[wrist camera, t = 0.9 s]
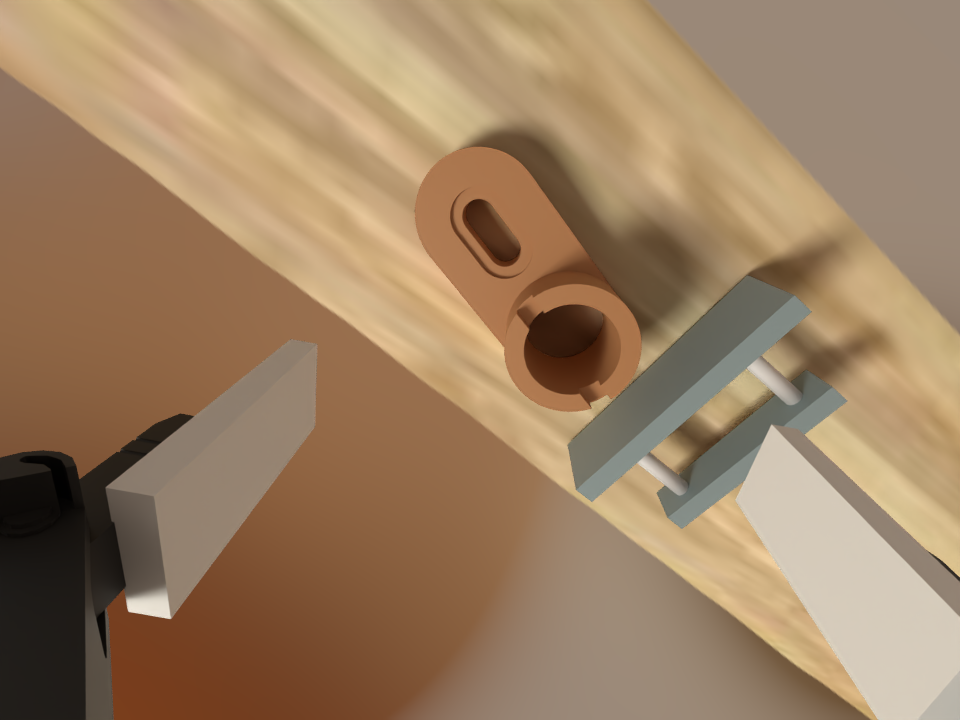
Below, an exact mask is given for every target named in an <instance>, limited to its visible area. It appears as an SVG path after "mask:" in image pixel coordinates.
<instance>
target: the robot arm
mask: <svg viewBox="0 0 960 720" xmlns="http://www.w3.org/2000/svg"><path fill="white" fill-rule="evenodd" d="M316 368H317V344H314V343H309V342H303V341H298V340H291V339H290V340H289V341H288V342H287V343H285V344H284V345H283V346H282V347H280V348H279V349H278V350H277V351H275V352H274V353H273V354H272V355H271V356H269V357H268V358H267V359H265V360H264V361H263V362H262V363H260V364H259V365H258V366H257V367H255V368H254V369H253V370H252V371H250V372H249V373H248V374H247V375H246V376H244V377H243V378H242V379H240V380H239V381H238V382H237V383H236V384H234V385H233V386H232V387H230V388H229V389H228V390H227V391H226V392H224V393H223V394H222V395H221V396H219V397H218V398H217V399H216V400H214V401H213V402H212V403H210V404H209V405H208V406H207V407H206V408H204V409H203V410H202V411H201V412H199V413H198V414H197V415H196V416H191V415H185V414H178V415H176V416H173V417H171V418H168V419H166V420H163V421H161V422H158V423H156V424H154V425H153V426H152V427H150V428H149V429H148V430H146V431H145V432H143V433H142V434H141V435H139V436H138V437H137V438H136V440H135V441H134V440H132V441H131V442H130V443H128V444H127V445H126V446H124V447H123V448H122V449H121V451H120V452H116V453H115V454H113V455H112V456H111V457H109V458H108V459H107V460H105V461H104V462H103V463H101V464H100V465H98V466H97V467H96V468H94V469H93V470H92V471H90V472H89V473H87V474H86V475H85V476H83V477H82V478H81V479H79V477H78V472H77V468H76V464H75V463H74V460H73V458H72V457H70V456H68V455H66V454H63V453H61V452H54V451H44V450H43V451H32V452H22V453H18V454H13V455H10V456H5V457H2V458H0V720H113V699H112V678H111V659H110V658H111V657H110V637H109V619H108V614H107V609H106V608H107V606H108V605H109V604H110V603H111V602H112V601H113V600H114V599H115V598H116V596H117V595H118V594H119V593H120V592H121V591H122V590H123V589H124V590H125V595H126V601H127V607H128V611H129V612H134V613H140V614H146V615H151V616H157V617H163V618H169V619H171V618H172V617H173V615H174V614H175V613H176V611H177V610H178V609H179V607H180V606H181V605H182V603H183V602H184V601H185V599H186V598H187V597H188V595H189V594H190V593H191V591H192V590H193V589H194V587H195V586H196V585H197V583H198V582H199V581H200V579H201V578H202V577H203V575H204V574H205V573H206V571H207V570H208V569H209V567H210V566H211V565H212V563H213V562H214V561H215V559H216V558H217V557H218V555H219V554H220V553H221V551H222V550H223V549H224V547H225V546H226V545H227V543H228V542H229V541H230V539H231V538H232V537H233V535H234V534H235V533H236V531H237V530H238V529H239V527H240V526H241V525H242V523H243V522H244V520H245V519H246V518H247V517H248V515H249V514H250V513H251V511H252V510H253V508H254V507H255V506H256V505H257V503H258V502H259V501H260V499H261V498H262V497H263V495H264V494H265V492H266V491H267V490H268V489H269V487H270V486H271V484H272V483H273V482H274V481H275V479H276V478H277V476H278V475H279V473H280V472H281V471H282V470H283V468H284V467H285V466H286V464H287V463H288V462H289V460H290V459H291V458H292V456H293V455H294V454H295V452H296V451H297V450H298V448H299V447H300V446H301V444H302V443H303V442H304V440H305V439H306V438H307V436H308V435H309V434H310V432H311V431H312V429H313V428H314V427H315V405H316V371H317V370H316ZM735 501H736V502H737V504H738V505H739V507H740V508H741V510H742V512H743V513H744V515H745V516H746V518H747V519H748V521H749V522H750V524H751V525H752V527H753V528H754V530H755V531H756V533H757V535H758V536H759V538H760V539H761V541H762V542H763V544H764V545H765V547H766V548H767V550H768V551H769V553H770V555H771V556H772V558H773V559H774V561H775V562H776V564H777V565H778V567H779V568H780V570H781V571H782V573H783V574H784V576H785V578H786V579H787V581H788V582H789V584H790V585H791V587H792V588H793V590H794V591H795V593H796V594H797V596H798V597H799V599H800V601H801V602H802V604H803V605H804V607H805V608H806V610H807V611H808V613H809V614H810V616H811V617H812V619H813V621H814V622H815V624H816V625H817V627H818V628H819V630H820V631H821V633H822V634H823V636H824V637H825V639H826V640H827V642H828V644H829V645H830V647H831V648H832V650H833V651H834V653H835V654H836V656H837V657H838V659H839V660H840V662H841V663H842V665H843V667H844V668H845V670H846V671H847V673H848V674H849V676H850V677H851V679H852V680H853V682H854V683H855V685H856V687H857V688H858V690H859V691H860V693H861V694H862V696H863V697H864V699H865V700H866V702H867V703H868V705H869V706H870V708H871V710H872V711H873V713H874V714H875V716H876V717H877V719H878V720H960V577H959V576H958V575H957V574H955V573H954V572H953V571H952V570H951V569H950V568H949V567H948V566H947V565H946V564H945V563H944V562H943V561H941V560H940V559H939V558H937V557H936V556H934V555H933V554H931V553H930V552H928V551H927V550H926V549H924V548H923V547H922V546H921V545H920V544H919V543H918V542H917V541H916V540H915V539H914V538H913V537H912V536H911V535H910V534H909V533H908V532H906V531H905V530H904V529H903V528H902V527H901V526H900V525H899V524H898V523H897V522H896V521H895V520H894V519H893V518H892V517H891V516H890V515H888V514H887V513H886V512H885V511H884V510H883V509H882V508H881V507H880V506H879V505H878V504H877V503H876V502H875V501H874V500H873V499H872V498H870V497H869V496H868V495H867V494H866V493H865V492H864V491H863V490H862V489H861V488H860V487H859V486H858V485H857V484H856V483H855V482H854V481H853V480H851V479H850V478H849V477H848V476H847V475H846V474H845V473H844V472H843V471H842V470H841V469H840V468H839V467H838V466H837V465H836V464H835V463H833V462H832V461H831V460H830V459H829V458H828V457H827V456H826V455H825V454H824V453H823V452H822V451H821V450H820V449H819V448H818V447H817V446H815V445H814V444H813V443H812V442H811V441H810V440H809V439H808V438H807V437H806V436H805V435H804V434H803V433H802V432H801V431H800V430H799V429H795V428H790V427H784V426H778V425H773V424H771V426H770V429H769V431H768V433H767V435H766V437H765V439H764V441H763V443H762V445H761V448H760V450H759V452H758V454H757V456H756V458H755V460H754V462H753V465H752V467H751V469H750V471H749V473H748V475H747V477H746V479H745V481H744V484H743V486H742V488H741V490H740V492H739V494H738V496H737V498H736V500H735Z"/></svg>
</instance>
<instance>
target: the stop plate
mask: <svg viewBox="0 0 960 720" xmlns="http://www.w3.org/2000/svg"><path fill="white" fill-rule="evenodd" d="M811 312H812V311H810V310H809V309H808V308H807V307H806V306H805V305H804V304H803V303H802V302H801V301H800V300H799V299H798V298H797V297H796V296H795V295H793V294H790V293H788V292H786V291H783V290H781V289H779V288H776V287H774V286H772V285H769V284H767V283H765V282H762V281H760V280H758V279H755V278H753V277H751V276H748V275H747V276H746V277H745V278H744V279H743V280H742V281H741V282H740V283H739V284H737V285H736V286H735V287H734V288H733V289H732V290H731V291H730V292H729V293H728V294H727V295H726V296H725V297H724V298H723V299H722V300H720V301H719V302H718V303H717V304H716V305H715V306H714V307H713V308H712V309H711V310H710V311H709V312H708V313H707V314H706V315H705V316H704V317H702V318H701V319H700V320H699V321H698V322H697V323H696V324H695V325H694V326H693V327H692V328H691V329H690V330H689V331H688V332H687V333H685V334H684V335H683V336H682V337H681V338H680V339H679V340H678V341H677V342H676V343H675V344H674V345H673V346H672V347H671V348H670V349H669V350H667V351H666V352H665V353H664V354H663V355H662V356H661V357H660V358H659V359H658V360H657V361H656V362H655V363H654V364H653V365H652V366H650V367H649V368H648V369H647V370H646V371H645V372H644V373H643V374H642V375H641V376H640V377H639V378H638V379H637V380H636V381H635V382H633V383H632V384H631V385H630V386H629V387H628V388H627V389H626V390H625V391H624V392H623V393H622V394H621V395H620V396H619V397H618V398H617V399H615V400H614V401H613V402H612V403H611V404H610V405H609V406H608V407H607V408H606V409H605V410H604V411H603V412H602V413H601V414H600V415H598V416H597V417H596V418H595V419H594V420H593V421H592V422H591V423H590V424H589V425H588V426H587V427H586V428H585V429H584V430H583V431H582V432H580V433H579V434H578V435H577V436H576V437H575V438H574V439H573V440H572V441H571V442H570V443H569V444H568V449H569V454H570V460H571V465H572V471H573V476H574V481H575V487H576V490H577V491H578V492H580V493H581V494H582V495H583V496H585V497H586V498H587V499H589V500H590V501H591V502H592V501H594V500H595V499H596V498H597V497H598V496H599V495H600V494H602V493H603V492H604V491H605V490H606V489H607V488H609V487H610V486H611V485H612V484H613V483H614V482H615V481H617V480H618V479H619V478H620V477H621V476H622V475H624V474H625V473H626V472H627V471H628V470H629V469H631V468H632V467H633V466H634V465H635V464H636V463H638V464H639V465H640V466H642V467H643V468H644V469H645V470H647V471H648V472H649V473H650V474H652V475H653V476H654V477H655V478H657V479H658V480H659V481H660V482H662V483H663V484H664V485H665V486H664V487H663V488H662V489H660V490H659V491H658V492H657V495H658V497H659V499H660V501H661V504H662V506H663V508H664V511H665V513H666V515H667V517H668V518H669V519H670V520H671V521H672V522H674V523H675V524H676V525H678V526H679V527H680V528H681V529H682V528H684V527H685V526H686V525H688V524H689V523H690V522H691V521H693V520H694V519H695V518H697V517H698V516H699V515H701V514H702V513H703V512H704V511H706V510H707V509H708V508H710V507H711V506H712V505H714V504H715V503H716V502H717V501H719V500H720V499H721V498H723V497H724V496H725V495H726V494H728V493H729V492H730V491H732V490H733V489H734V488H736V487H737V486H738V485H739V484H741V483H742V482H743V481H745V479H746V477H747V475H748V473H749V471H750V469H751V467H752V465H753V462H754V460H755V458H756V456H757V454H758V452H759V450H760V448H761V445H762V443H763V441H764V439H765V437H766V435H767V433H768V431H769V429H770V426H771V424H773V425H778V426H784V427H790V428H795V429H799V430H800V431H801V432H802V433H803V434H806V433H807V432H808V431H809V430H811V429H812V428H813V427H815V426H816V425H817V424H818V423H820V422H821V421H822V420H824V419H825V418H826V417H828V416H829V415H830V414H831V413H833V412H834V411H835V410H837V409H838V408H839V407H840V406H842V405H843V404H844V403H846V402H847V400H846V399H845V398H844V397H843V396H842V395H841V394H839V393H838V392H837V391H836V390H835V389H834V388H833V387H832V386H830V385H829V384H827V383H826V382H824V381H823V380H821V379H820V378H818V377H817V376H815V375H814V374H812V373H811V372H809V371H808V370H805V371H804V372H803V373H801V374H800V375H799V376H798V377H797V378H795V379H794V380H793V381H792V382H789V381H788V380H787V379H786V378H785V377H784V376H783V375H782V374H781V373H780V372H778V371H777V370H776V369H775V368H774V367H773V366H772V365H771V364H770V363H769V362H767V361H766V360H765V359H764V358H763V357H762V356H761V355H762V354H763V353H765V352H766V351H767V350H768V349H769V348H770V347H772V346H773V345H774V344H775V343H776V342H777V341H778V340H780V339H781V338H782V337H783V336H784V335H785V334H787V333H788V332H789V331H790V330H791V329H792V328H793V327H795V326H796V325H797V324H798V323H799V322H800V321H802V320H803V319H804V318H805V317H806V316H807V315H809V314H810V313H811ZM746 368H747V369H748V370H749V371H750V372H751V373H752V374H753V375H754V376H756V377H757V378H758V379H759V380H760V381H761V382H762V383H763V384H765V385H766V386H767V387H768V388H769V389H770V390H771V391H772V392H773V393H775V394H776V395H775V396H773V397H772V398H771V399H770V400H769V401H767V402H766V403H765V404H764V405H762V406H761V407H760V408H759V409H758V410H756V411H755V412H754V413H753V414H752V415H750V416H749V417H748V418H747V419H745V420H744V421H743V422H742V423H741V424H739V425H738V426H737V427H736V428H735V429H733V430H732V431H731V432H730V433H728V434H727V435H726V436H725V437H724V438H722V439H721V440H720V441H719V442H718V443H716V444H715V445H714V446H713V447H711V448H710V449H709V450H708V451H707V452H705V453H704V454H703V455H702V456H700V457H699V458H698V459H697V460H696V461H694V462H693V463H692V464H691V465H690V466H688V467H687V468H686V469H685V470H683V471H682V472H681V473H680V474H679V475H677V474H676V473H675V472H674V471H672V470H671V469H670V468H669V467H667V466H666V465H665V464H664V463H662V462H661V461H660V460H659V459H657V458H656V457H655V456H654V455H653V454H651V453H650V451H651V450H652V449H654V448H655V447H656V446H657V445H658V444H659V443H661V442H662V441H663V440H664V439H665V438H666V437H667V436H669V435H670V434H671V433H672V432H673V431H674V430H676V429H677V428H678V427H679V426H680V425H681V424H683V423H684V422H685V421H686V420H687V419H688V418H689V417H691V416H692V415H693V414H694V413H695V412H696V411H698V410H699V409H700V408H701V407H702V406H703V405H704V404H706V403H707V402H708V401H709V400H710V399H711V398H713V397H714V396H715V395H716V394H717V393H718V392H720V391H721V390H722V389H723V388H724V387H725V386H726V385H728V384H729V383H730V382H731V381H732V380H733V379H735V378H736V377H737V376H738V375H739V374H740V373H741V372H743V371H744V370H745V369H746Z"/></svg>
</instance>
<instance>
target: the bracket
mask: <svg viewBox="0 0 960 720" xmlns="http://www.w3.org/2000/svg"><path fill="white" fill-rule="evenodd" d="M475 199H483V200H486V201H487V202H489V203H490V204H491V205H492V207H493V208H494V209H495V210H496V212H497V213H498V214H499V216H500V217H501V218H502V220H503V221H504V222H505V224H506V225H507V226H508V228H509V229H510V230H511V232H512V233H513V234H514V236H515V237H516V238H517V240H518V241H519V243H520V246H521V249H520V252H519V254H518V255H517V257H515V258H514V259H513V260H510V261H501V260H498V259H497V258H496V257H495V256H494V255H493V254H492V253H491V251H490V250H489V249H488V248H487V246H486V245H485V244H484V242H483V241H482V240H481V239H480V237H479V236H478V235H477V233H476V232H475V231H474V230H473V228H472V227H471V226H470V224H469V223H468V221H467V219H466V209H467V206H468V205H469V203H470V202H471V201H472V200H475ZM415 221H416V227H417V232H418V235H419V238H420V240H421V242H422V245H423V246H424V248H425V250H426V252H427V253H428V254H429V256H430V257H431V258H432V259H433V261H434V262H435V263H436V264H437V266H438V267H439V268H440V269H441V270H442V272H443V273H444V274H445V275H446V277H447V278H448V279H449V280H450V281H451V283H452V284H453V285H454V286H455V288H456V289H457V290H458V291H459V293H460V294H461V295H462V296H463V297H464V299H465V300H466V301H467V302H468V304H469V305H470V306H471V307H472V308H473V310H474V311H475V312H476V313H477V315H478V316H479V317H480V318H481V320H482V321H483V322H484V323H485V324H486V326H487V327H488V328H489V329H490V331H491V332H492V333H493V334H494V335H495V337H496V338H497V339H498V340H499V342H500V343H501V344H502V345H503V346H504V355H505V362H506V366H507V369H508V372H509V375H510V377H511V379H512V380H513V382H514V383H515V385H516V386H517V387H518V389H519V390H520V391H521V392H522V393H523V394H524V395H525V396H527V397H528V398H529V399H530V400H532V401H534V402H535V403H537V404H539V405H541V406H543V407H546V408H549V409H553V410H558V411H567V412H573V411H583V410H587V409H591V406H590V402H593V401H596V400H598V399H600V398H602V397H604V396H605V395H608V396H609V397H610V399H612V398H613V397H615V396H616V395H617V394H619V393H620V392H621V391H622V390H623V389H624V388H625V387H626V386H627V384H628V383H629V382H630V380H631V379H632V377H633V375H634V374H635V371H636V369H637V367H638V364H639V361H640V356H641V335H640V330H639V327H638V324H637V322H636V319H635V318H634V316H633V314H632V313H631V311H630V310H629V308H628V307H627V306H626V305H625V304H624V302H623V301H622V300H621V299H620V298H619V296H618V295H617V294H616V293H615V291H614V290H613V289H612V287H611V286H610V284H609V283H608V282H607V280H606V279H605V277H604V276H603V275H602V273H601V272H600V270H599V269H598V268H597V266H596V265H595V264H594V262H593V261H592V259H591V258H590V257H589V255H588V254H587V252H586V251H585V250H584V248H583V247H582V245H581V244H580V243H579V241H578V240H577V238H576V237H575V236H574V234H573V233H572V231H571V230H570V229H569V227H568V226H567V224H566V223H565V222H564V220H563V219H562V217H561V216H560V215H559V213H558V212H557V210H556V209H555V208H554V206H553V205H552V203H551V202H550V201H549V199H548V198H547V196H546V195H545V194H544V192H543V191H542V189H541V188H540V187H539V185H538V184H537V183H536V181H535V180H534V178H533V177H532V176H531V174H530V173H529V172H528V170H527V169H526V168H525V167H524V166H523V165H522V164H521V163H520V162H519V161H518V160H516V159H515V158H514V157H512V156H510V155H509V154H507V153H505V152H502V151H500V150H497V149H493V148H489V147H469V148H464V149H460V150H457V151H455V152H453V153H451V154H449V155H447V156H445V157H444V158H442V159H441V160H440V161H439V162H438V163H436V164H435V165H434V166H433V167H432V169H431V170H430V171H429V172H428V174H427V175H426V177H425V178H424V180H423V182H422V184H421V186H420V189H419V192H418V195H417V199H416V205H415ZM569 304H580V305H586V306H590V307H592V308H595V309H597V310H599V311H601V312H602V313H603V323H602V328H601V331H600V333H599V335H598V337H597V339H596V340H595V341H594V343H593V344H592V345H591V346H590V347H589V348H587V349H586V350H585V351H583V352H581V353H579V354H577V355H574V356H570V357H553V356H549V355H546V354H544V353H542V352H540V351H539V350H537V349H536V348H535V347H534V346H533V345H532V344H531V343H530V342H529V340H528V338H527V334H528V332H529V325H530V324H531V322H532V321H533V320H534V318H535V317H536V316H537V315H538V314H539V313H541V312H542V311H543V312H544V313H546V312H548V311H550V310H552V309H554V308H556V307H559V306H563V305H569Z"/></svg>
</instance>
